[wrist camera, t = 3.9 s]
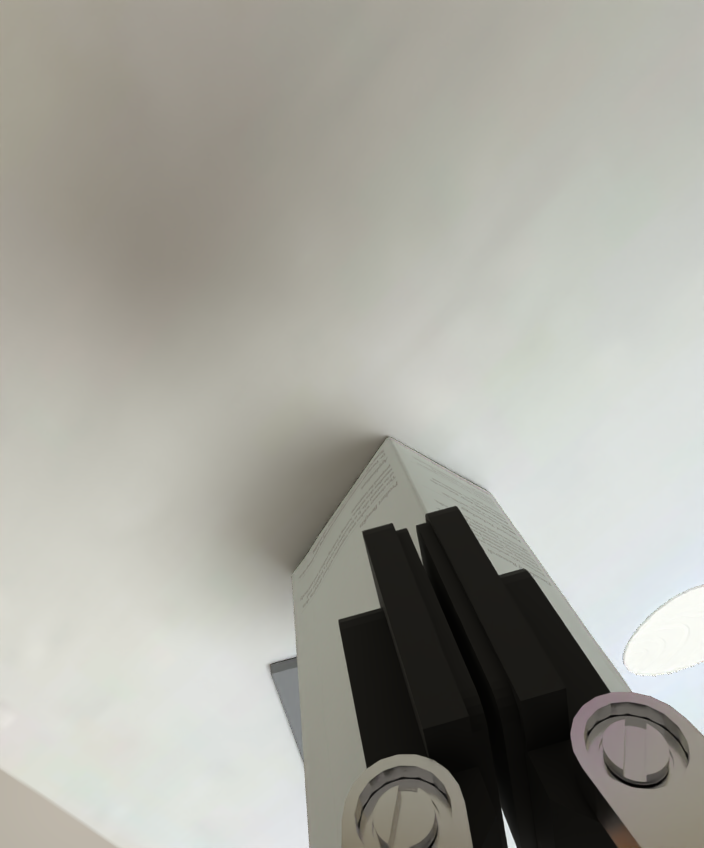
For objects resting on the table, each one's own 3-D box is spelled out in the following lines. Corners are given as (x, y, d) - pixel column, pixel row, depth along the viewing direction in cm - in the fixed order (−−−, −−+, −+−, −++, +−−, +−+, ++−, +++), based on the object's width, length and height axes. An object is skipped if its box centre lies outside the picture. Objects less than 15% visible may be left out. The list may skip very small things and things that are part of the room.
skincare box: (391, 617, 30) (499, 1009, 16) (281, 569, 28) (301, 971, 14) (497, 483, 27) (727, 810, 14) (386, 420, 25) (528, 732, 12)
